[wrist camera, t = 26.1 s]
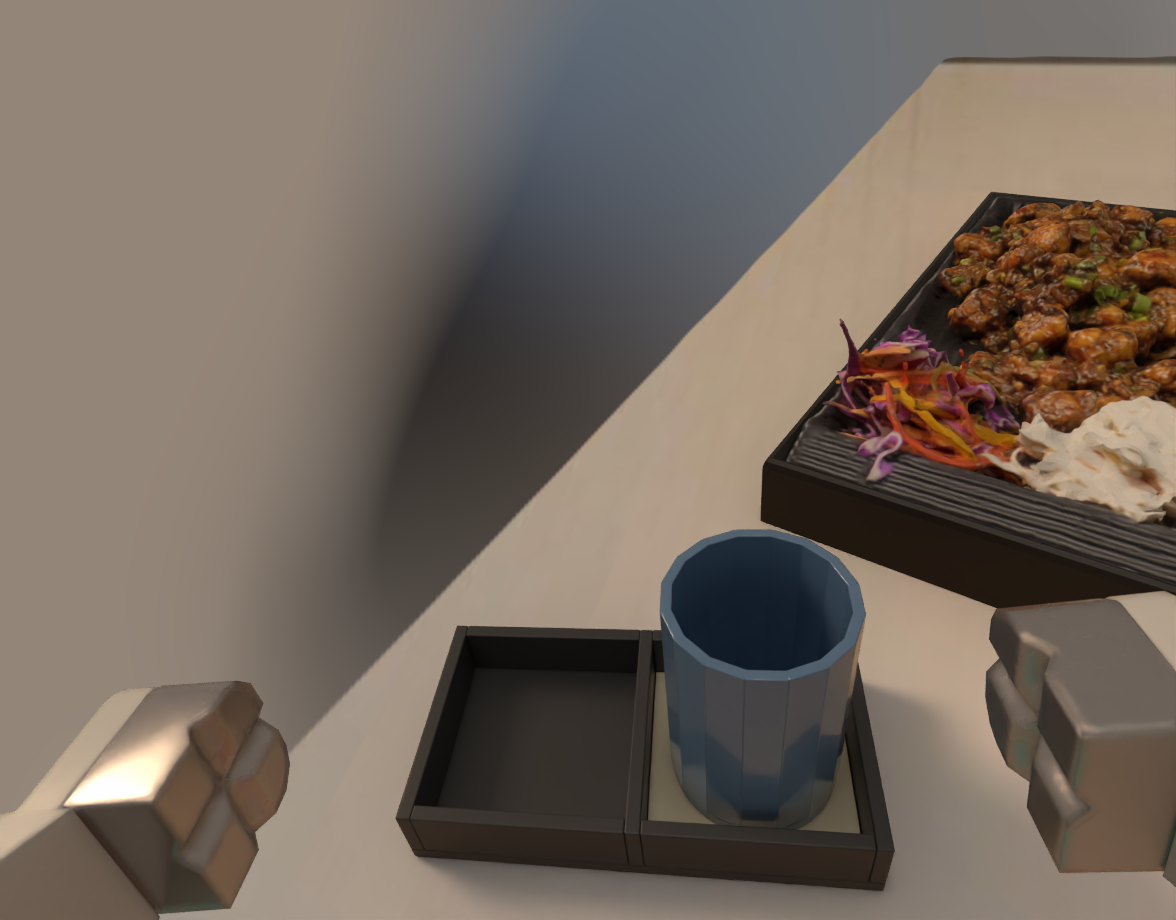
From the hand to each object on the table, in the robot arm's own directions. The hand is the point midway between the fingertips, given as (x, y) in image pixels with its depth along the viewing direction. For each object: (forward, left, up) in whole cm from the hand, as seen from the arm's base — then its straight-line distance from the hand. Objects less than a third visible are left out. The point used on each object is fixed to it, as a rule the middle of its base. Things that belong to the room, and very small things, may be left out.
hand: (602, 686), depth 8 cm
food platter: (+26, +42, -24) cm, 55 cm away
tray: (-2, +13, -24) cm, 27 cm away
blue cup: (+3, +13, -23) cm, 27 cm away
